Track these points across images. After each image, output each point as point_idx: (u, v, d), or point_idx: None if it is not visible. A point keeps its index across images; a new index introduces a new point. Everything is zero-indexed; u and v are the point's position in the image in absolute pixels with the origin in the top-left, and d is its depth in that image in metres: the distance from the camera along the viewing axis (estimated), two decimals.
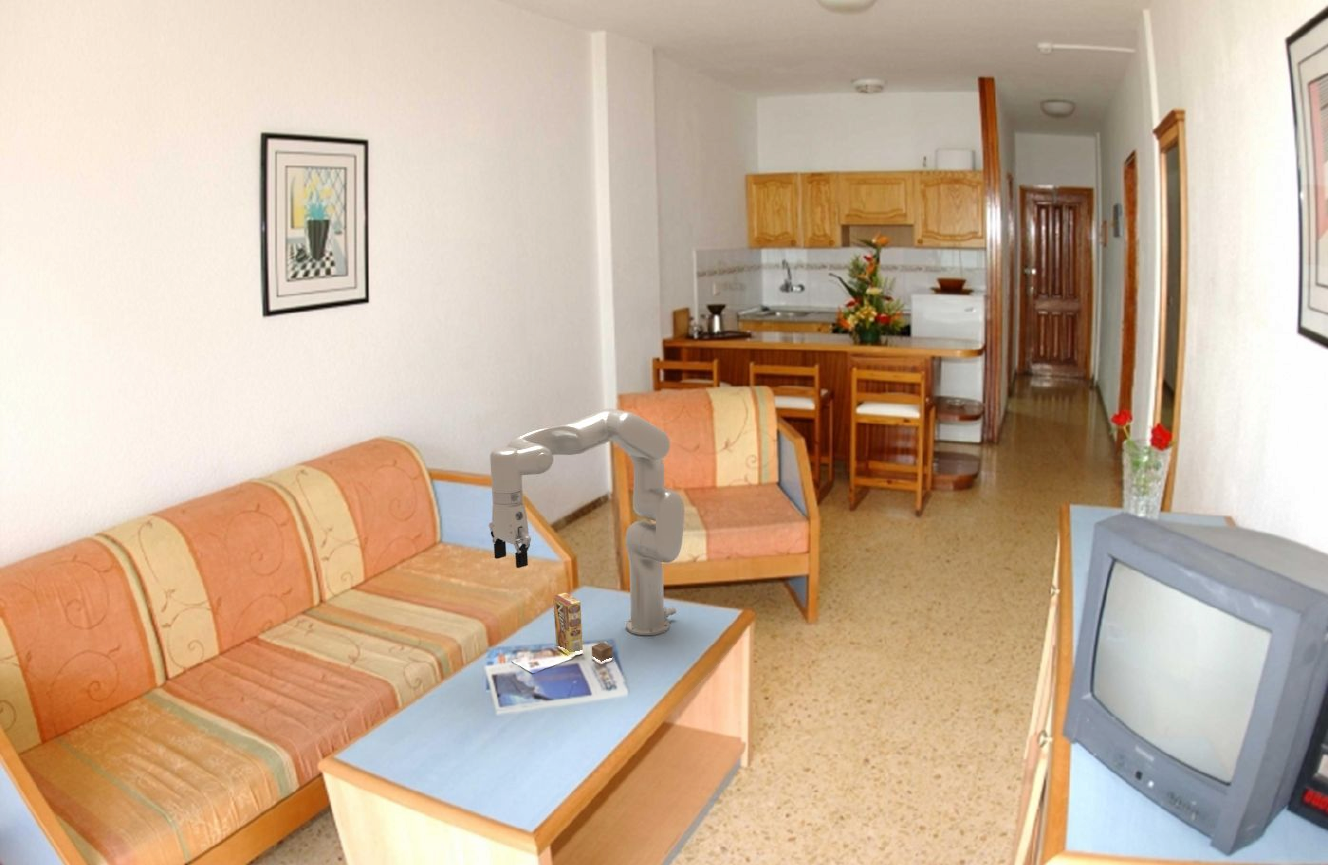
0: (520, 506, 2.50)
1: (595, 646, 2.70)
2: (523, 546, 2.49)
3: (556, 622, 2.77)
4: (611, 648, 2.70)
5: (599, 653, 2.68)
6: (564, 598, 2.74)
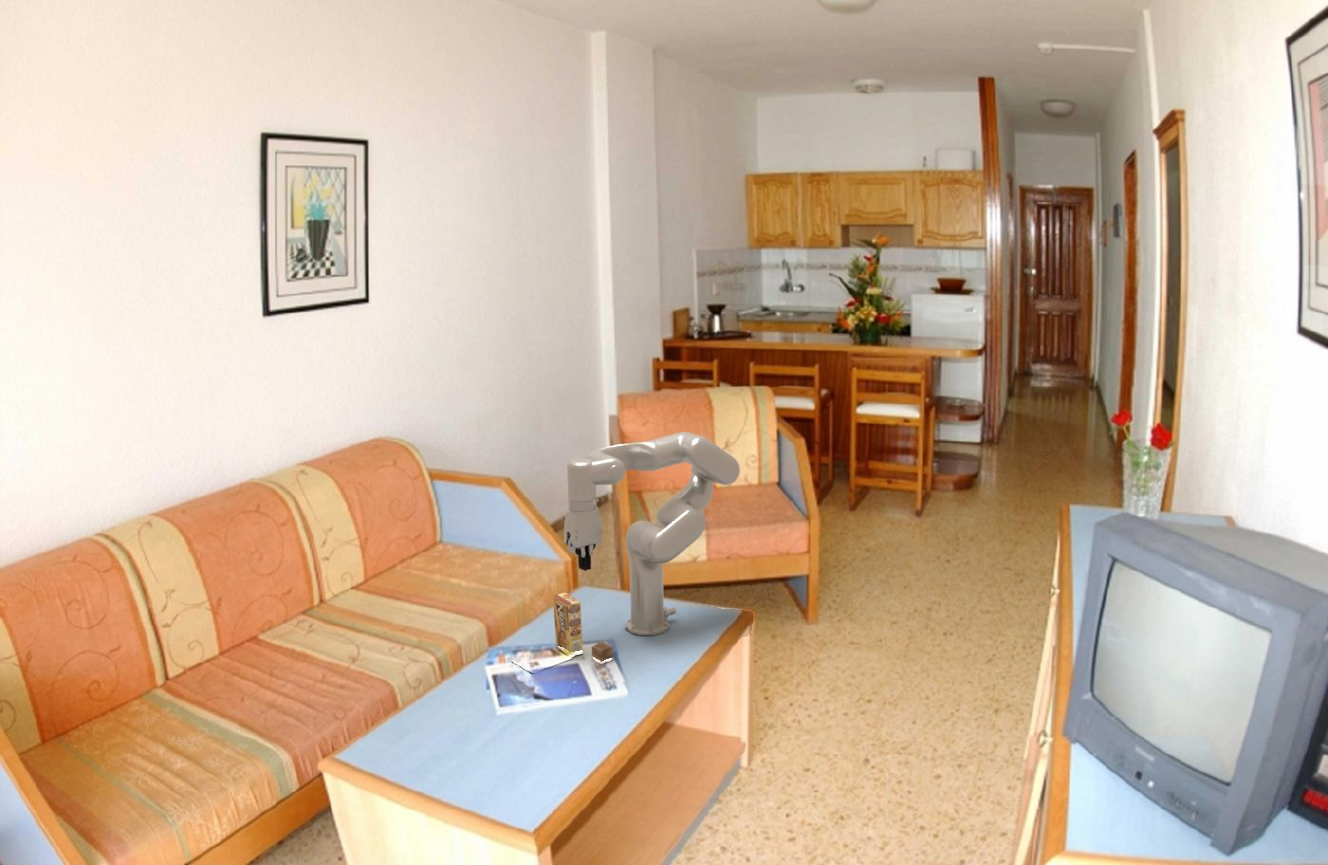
0: None
1: (595, 646, 2.70)
2: (595, 545, 2.77)
3: (556, 622, 2.77)
4: (611, 648, 2.70)
5: (599, 653, 2.68)
6: (564, 598, 2.74)
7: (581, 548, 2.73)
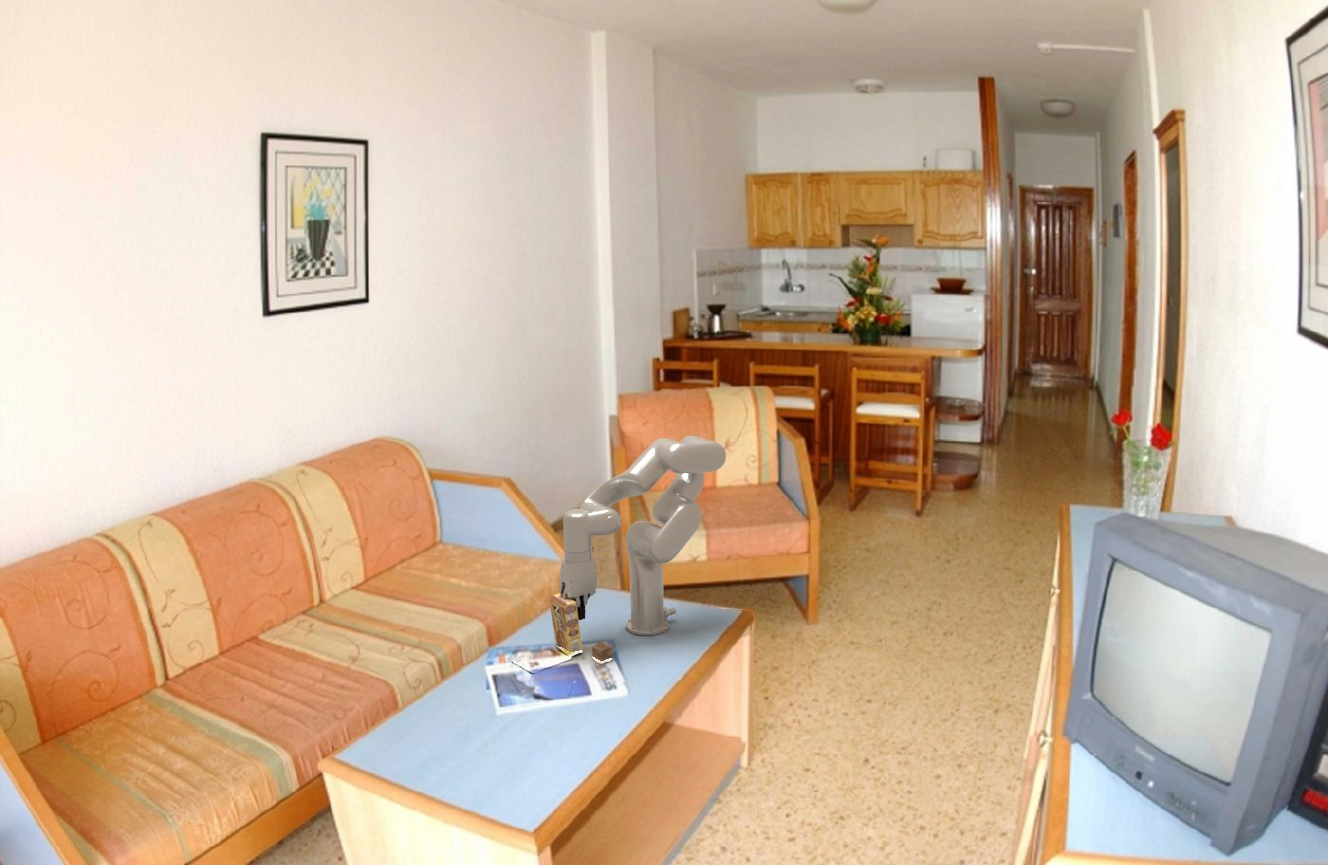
0: None
1: (595, 646, 2.70)
2: (589, 595, 2.78)
3: (554, 623, 2.76)
4: (611, 648, 2.70)
5: (599, 653, 2.68)
6: (560, 599, 2.73)
7: (576, 598, 2.75)
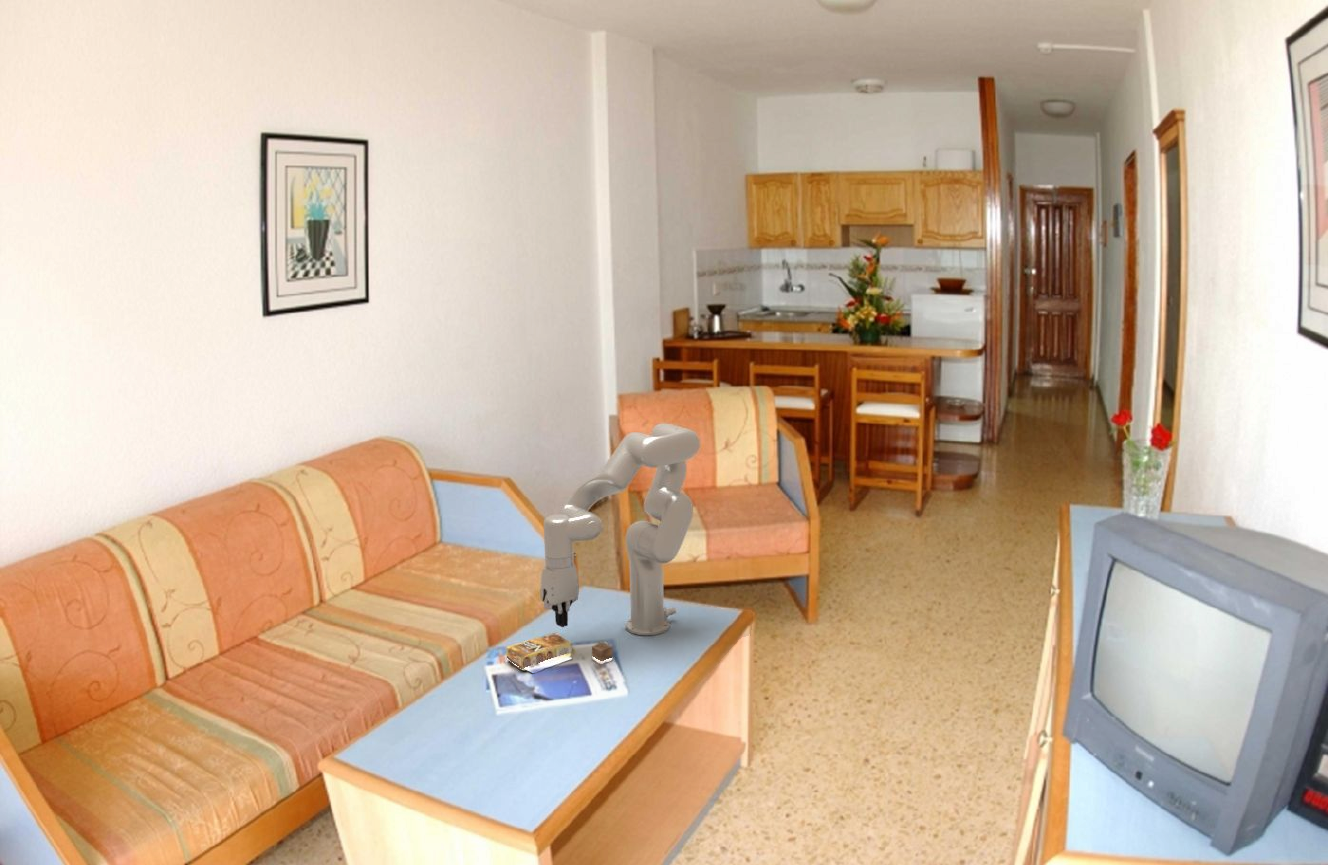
0: None
1: (595, 646, 2.70)
2: (571, 601, 2.74)
3: None
4: (611, 648, 2.70)
5: (599, 653, 2.68)
6: (513, 660, 2.67)
7: (558, 605, 2.71)
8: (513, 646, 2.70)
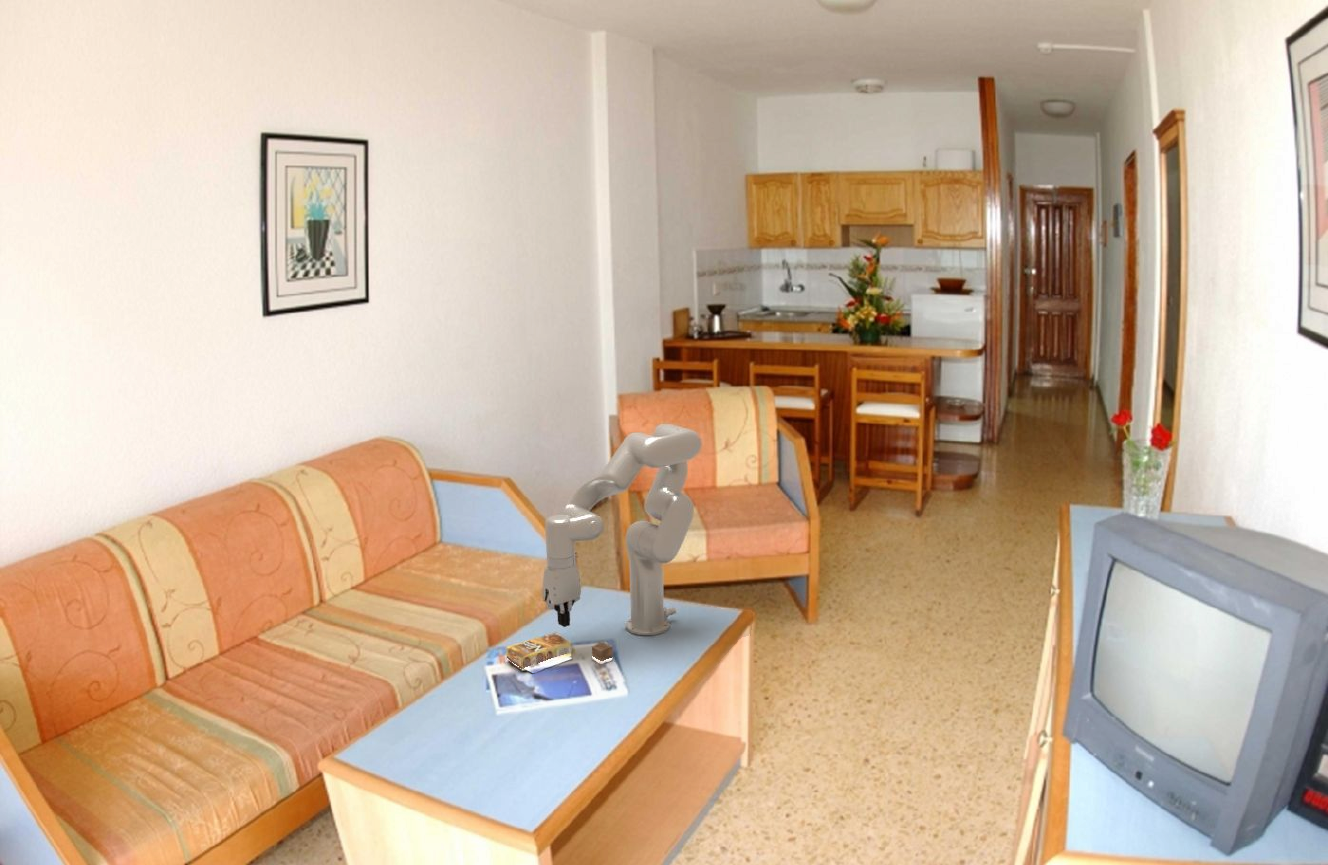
0: None
1: (595, 646, 2.70)
2: (573, 601, 2.75)
3: None
4: (611, 648, 2.70)
5: (599, 653, 2.68)
6: (513, 660, 2.67)
7: (560, 605, 2.71)
8: (513, 646, 2.70)
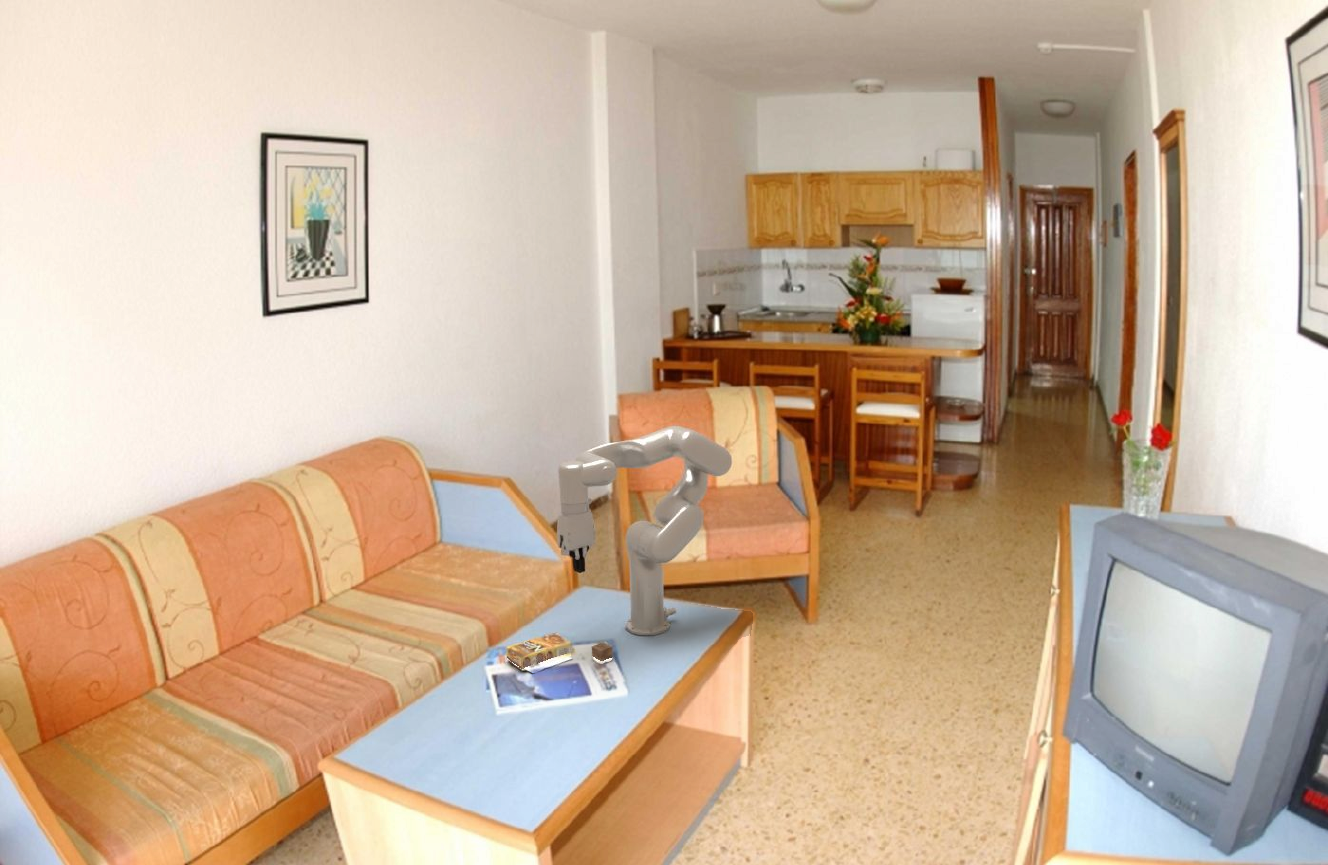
0: None
1: (595, 646, 2.70)
2: (588, 547, 2.75)
3: None
4: (611, 648, 2.70)
5: (599, 653, 2.68)
6: (513, 660, 2.67)
7: (575, 550, 2.72)
8: (513, 646, 2.70)
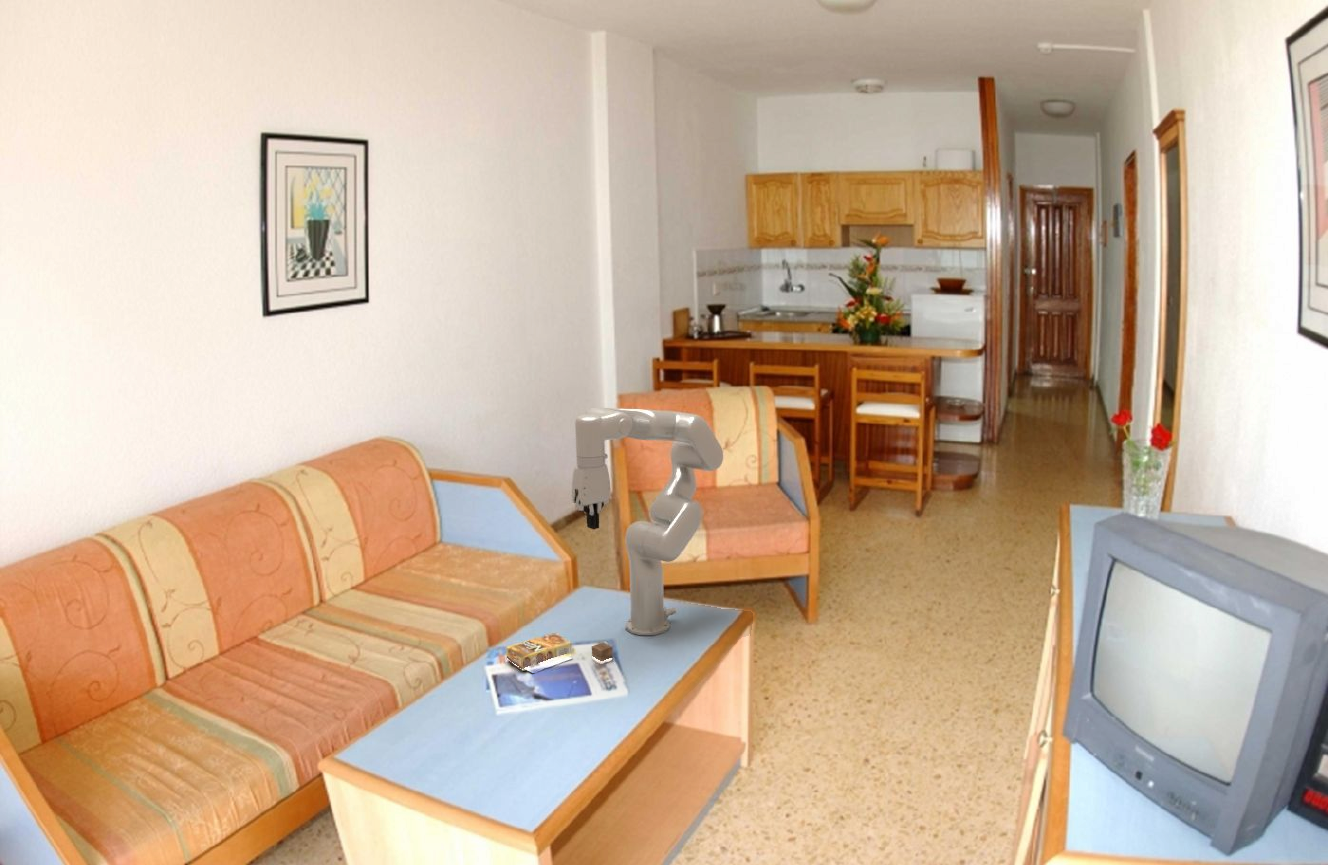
0: None
1: (595, 646, 2.70)
2: (603, 504, 2.70)
3: None
4: (611, 648, 2.70)
5: (599, 653, 2.68)
6: (513, 660, 2.67)
7: (589, 506, 2.66)
8: (513, 646, 2.70)
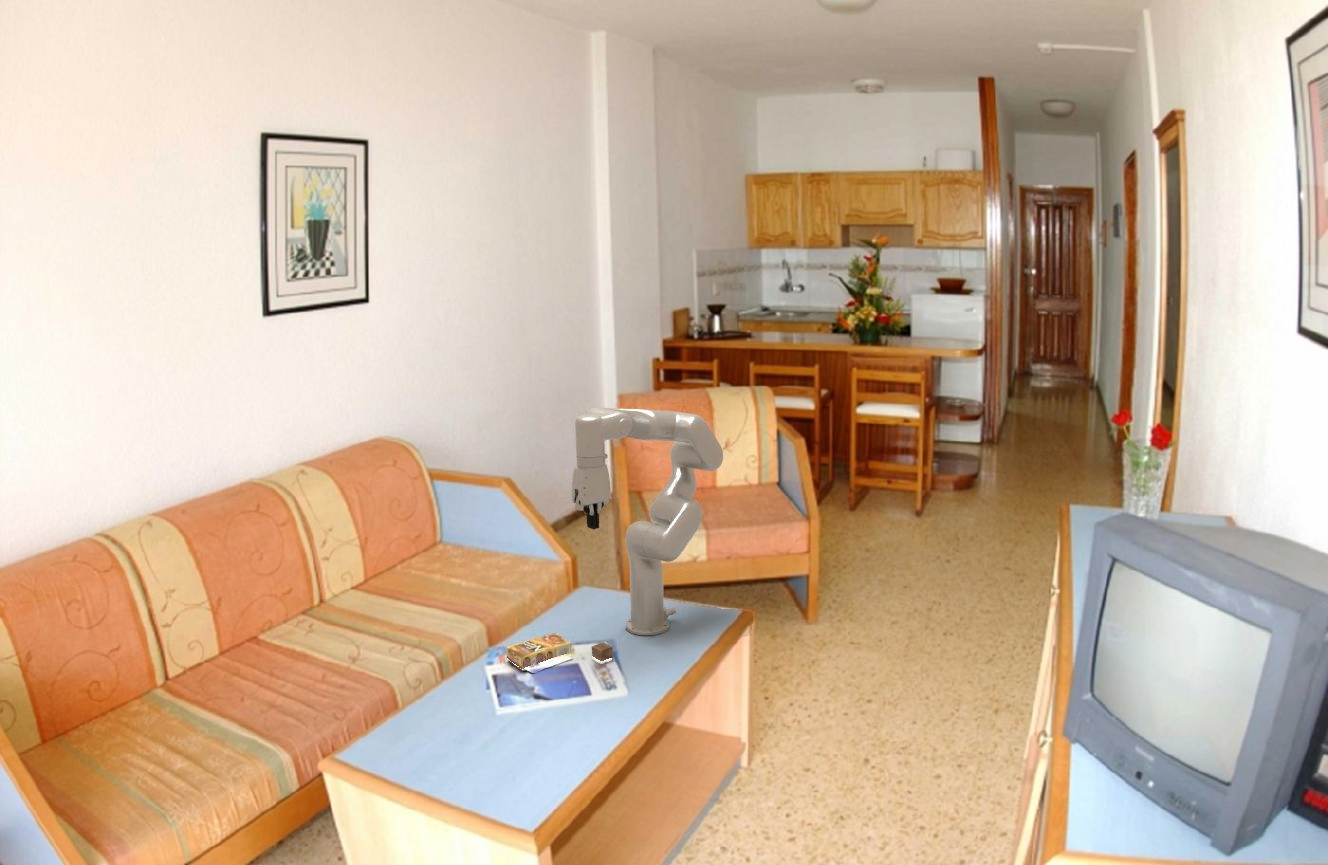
0: None
1: (595, 646, 2.70)
2: (603, 504, 2.70)
3: None
4: (611, 648, 2.70)
5: (599, 653, 2.68)
6: (513, 660, 2.67)
7: (589, 506, 2.66)
8: (513, 646, 2.70)
